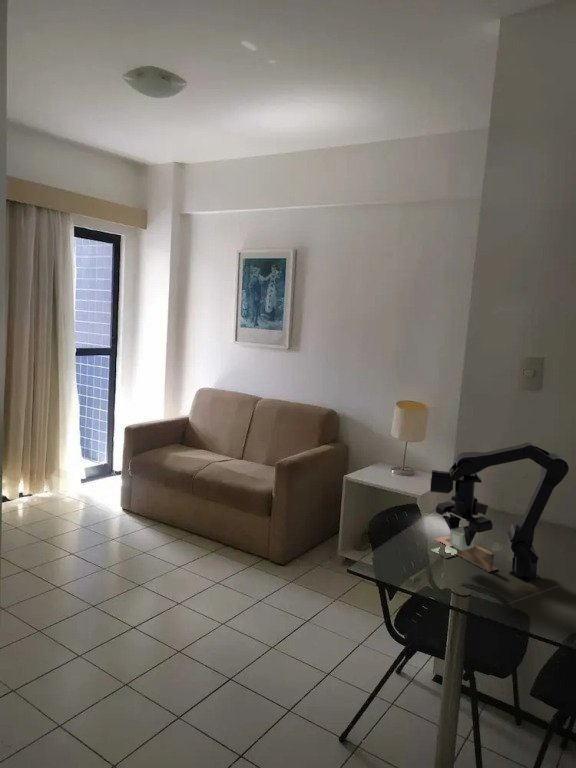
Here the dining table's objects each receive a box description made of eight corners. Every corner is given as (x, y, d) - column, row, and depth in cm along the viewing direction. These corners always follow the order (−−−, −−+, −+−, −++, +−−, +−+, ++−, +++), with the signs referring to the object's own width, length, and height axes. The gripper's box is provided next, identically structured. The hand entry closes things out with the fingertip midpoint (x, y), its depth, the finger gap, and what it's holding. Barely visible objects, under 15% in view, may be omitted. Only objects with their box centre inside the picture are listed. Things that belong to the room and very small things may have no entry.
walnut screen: (498, 570, 179) (499, 552, 178) (488, 573, 177) (489, 554, 176) (465, 552, 191) (466, 535, 190) (456, 555, 189) (457, 537, 188)
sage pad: (462, 554, 190) (462, 553, 190) (445, 559, 187) (445, 557, 187) (447, 546, 196) (447, 545, 196) (431, 550, 193) (431, 549, 193)
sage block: (473, 547, 178) (474, 531, 177) (461, 550, 175) (462, 534, 174) (461, 541, 182) (462, 525, 181) (449, 544, 180) (450, 528, 179)
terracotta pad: (464, 543, 198) (464, 542, 198) (449, 547, 195) (449, 546, 195) (450, 535, 204) (450, 534, 204) (435, 539, 201) (435, 538, 201)
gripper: (507, 499, 172) (504, 549, 174) (461, 481, 188) (459, 527, 190) (479, 505, 166) (477, 556, 169) (435, 486, 183) (433, 533, 185)
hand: (462, 542), depth 178 cm, fingers closed on sage block, 5 cm apart
